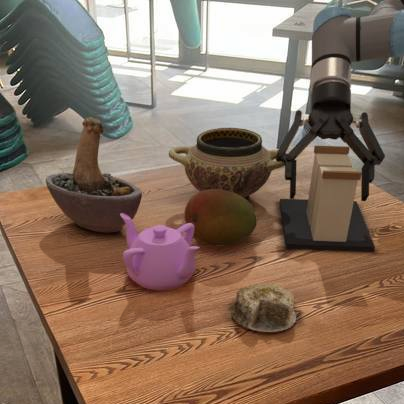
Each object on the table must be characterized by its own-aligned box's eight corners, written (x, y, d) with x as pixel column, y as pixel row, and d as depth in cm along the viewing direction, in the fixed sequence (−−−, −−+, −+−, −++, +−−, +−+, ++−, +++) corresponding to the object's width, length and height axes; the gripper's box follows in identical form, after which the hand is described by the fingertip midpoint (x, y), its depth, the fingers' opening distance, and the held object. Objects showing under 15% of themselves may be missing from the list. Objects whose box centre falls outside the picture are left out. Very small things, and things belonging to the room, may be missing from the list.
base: (355, 205, 120) (369, 136, 111) (373, 251, 104) (391, 175, 95) (279, 203, 120) (286, 133, 111) (286, 248, 105) (295, 172, 96)
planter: (145, 240, 106) (139, 130, 93) (53, 249, 103) (34, 135, 90) (134, 207, 117) (128, 104, 105) (51, 214, 114) (34, 108, 102)
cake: (222, 307, 91) (223, 276, 87) (279, 298, 93) (282, 267, 90) (245, 339, 83) (247, 306, 80) (307, 328, 85) (311, 296, 82)
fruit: (175, 237, 107) (174, 186, 101) (228, 221, 113) (230, 171, 107) (212, 263, 100) (213, 209, 94) (266, 244, 106) (271, 192, 99)
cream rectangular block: (337, 213, 115) (349, 146, 106) (341, 227, 110) (354, 158, 101) (305, 211, 115) (314, 145, 106) (308, 226, 110) (318, 157, 102)
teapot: (198, 296, 92) (199, 246, 86) (113, 293, 92) (108, 243, 87) (201, 259, 101) (202, 212, 95) (123, 256, 101) (120, 209, 96)
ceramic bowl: (284, 203, 127) (292, 130, 120) (284, 217, 111) (293, 134, 104) (176, 195, 129) (177, 123, 123) (160, 208, 113) (161, 127, 107)
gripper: (390, 103, 113) (389, 206, 111) (264, 99, 114) (261, 202, 112) (402, 81, 106) (401, 191, 104) (267, 77, 107) (264, 187, 104)
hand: (328, 197), depth 108 cm, fingers open, 13 cm apart
